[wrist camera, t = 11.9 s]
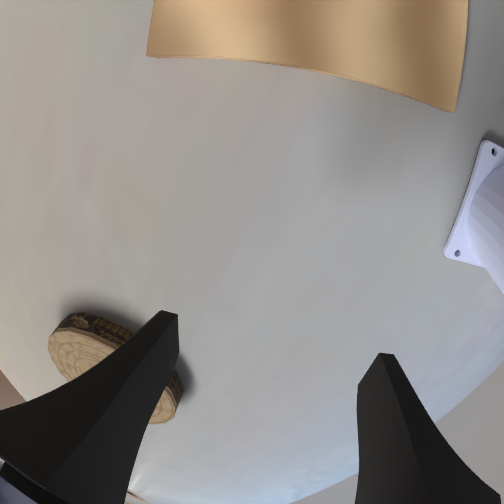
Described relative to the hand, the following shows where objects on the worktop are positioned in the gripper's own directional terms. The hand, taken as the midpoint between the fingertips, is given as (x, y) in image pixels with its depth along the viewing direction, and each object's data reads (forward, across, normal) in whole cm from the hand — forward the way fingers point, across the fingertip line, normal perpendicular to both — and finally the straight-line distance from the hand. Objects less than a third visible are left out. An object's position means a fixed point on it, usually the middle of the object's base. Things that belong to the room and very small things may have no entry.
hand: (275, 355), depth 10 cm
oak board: (+9, +1, -17) cm, 19 cm away
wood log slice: (+10, +15, +20) cm, 27 cm away
